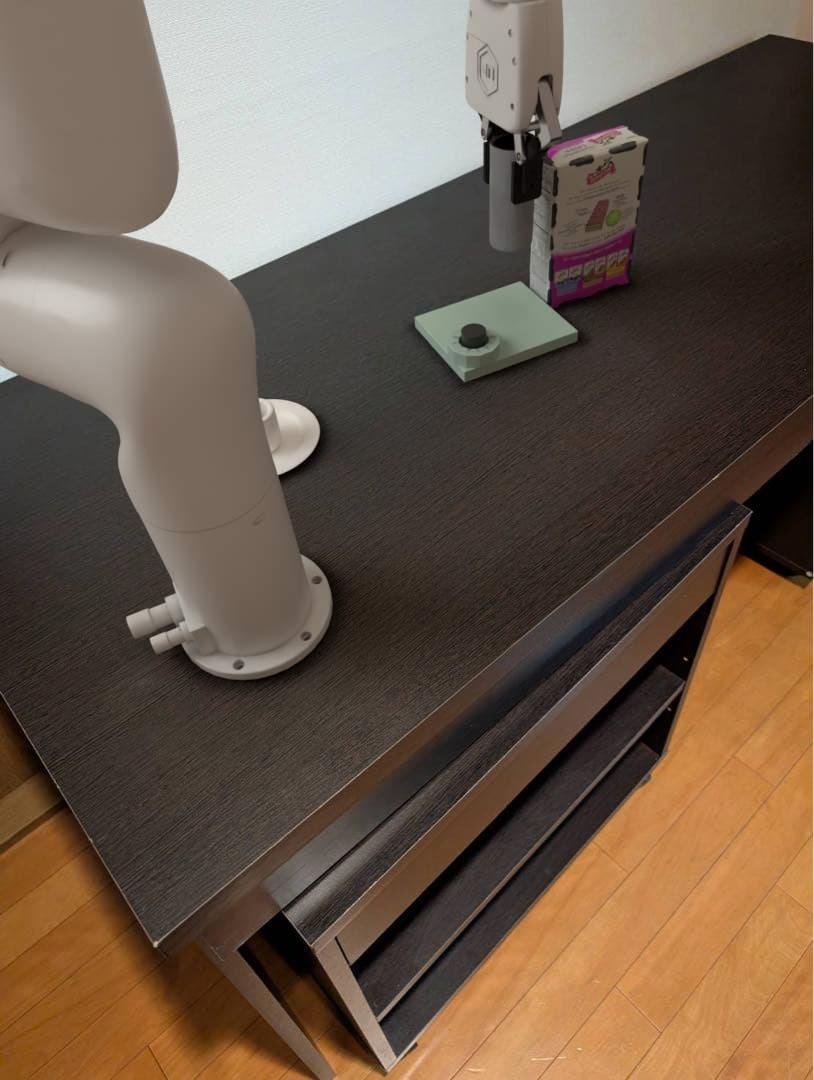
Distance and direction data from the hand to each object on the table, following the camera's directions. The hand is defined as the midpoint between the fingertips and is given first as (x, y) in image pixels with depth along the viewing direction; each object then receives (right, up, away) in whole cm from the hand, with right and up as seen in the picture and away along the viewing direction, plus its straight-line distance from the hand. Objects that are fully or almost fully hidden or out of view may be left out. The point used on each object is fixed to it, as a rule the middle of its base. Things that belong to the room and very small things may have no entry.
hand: (511, 188), depth 76 cm
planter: (0, -4, +5) cm, 6 cm away
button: (-3, -14, +4) cm, 15 cm away
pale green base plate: (-1, -12, +9) cm, 15 cm away
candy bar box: (+10, -5, +14) cm, 18 cm away
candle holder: (-25, -26, 0) cm, 36 cm away
